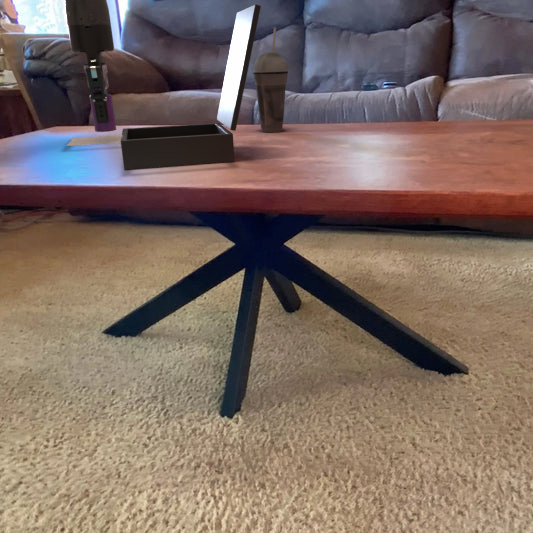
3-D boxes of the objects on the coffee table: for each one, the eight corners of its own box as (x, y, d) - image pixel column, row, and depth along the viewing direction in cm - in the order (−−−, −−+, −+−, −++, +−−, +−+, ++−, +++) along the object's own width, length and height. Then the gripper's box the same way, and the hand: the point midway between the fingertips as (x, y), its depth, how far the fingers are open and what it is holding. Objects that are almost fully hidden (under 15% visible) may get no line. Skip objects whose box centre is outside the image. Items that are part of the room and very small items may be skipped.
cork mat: (64, 151, 92) (64, 148, 92) (73, 139, 105) (72, 137, 105) (143, 145, 95) (143, 143, 95) (142, 135, 108) (142, 133, 108)
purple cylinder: (94, 132, 97) (88, 96, 94) (95, 129, 101) (90, 95, 98) (116, 131, 98) (110, 95, 95) (116, 128, 101) (111, 94, 99)
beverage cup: (250, 130, 111) (246, 28, 103) (281, 127, 113) (279, 28, 105) (261, 134, 104) (258, 26, 97) (294, 131, 107) (293, 26, 99)
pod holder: (125, 175, 71) (120, 140, 70) (126, 158, 84) (122, 128, 82) (234, 167, 75) (233, 133, 73) (220, 151, 87) (219, 122, 85)
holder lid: (255, 3, 67) (261, 5, 67) (236, 12, 79) (241, 13, 80) (230, 129, 72) (235, 131, 73) (216, 119, 85) (221, 120, 85)
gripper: (71, 26, 98) (87, 118, 104) (62, 21, 85) (80, 127, 91) (112, 25, 99) (124, 116, 106) (108, 20, 86) (123, 124, 93)
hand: (104, 121), depth 98 cm, fingers closed on purple cylinder, 4 cm apart
